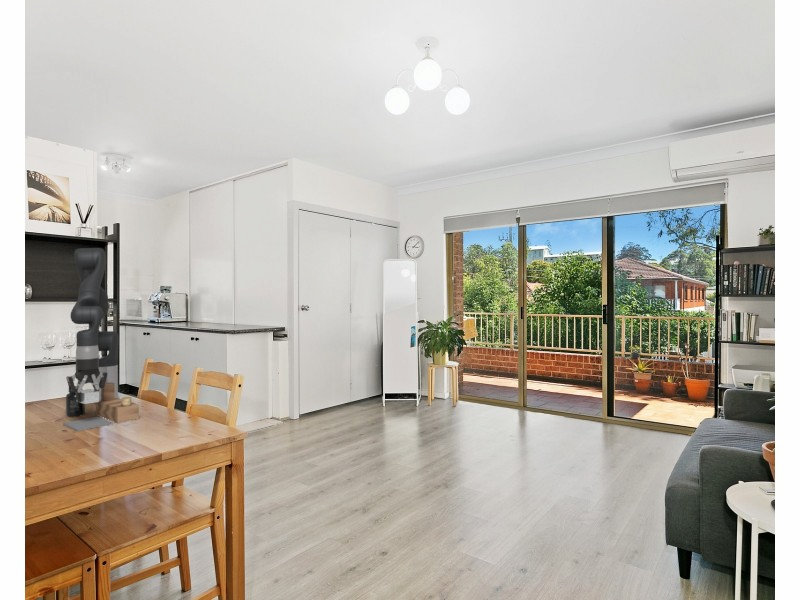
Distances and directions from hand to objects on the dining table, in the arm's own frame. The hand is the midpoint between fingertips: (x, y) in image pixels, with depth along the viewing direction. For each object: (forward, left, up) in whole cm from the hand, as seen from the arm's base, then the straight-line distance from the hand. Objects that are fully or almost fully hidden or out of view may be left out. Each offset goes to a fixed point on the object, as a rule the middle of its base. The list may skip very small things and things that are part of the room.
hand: (87, 400), depth 186 cm
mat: (0, 0, -10) cm, 10 cm away
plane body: (-3, +12, -10) cm, 16 cm away
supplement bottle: (-20, +3, -10) cm, 23 cm away
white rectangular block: (0, 0, 0) cm, 0 cm away
